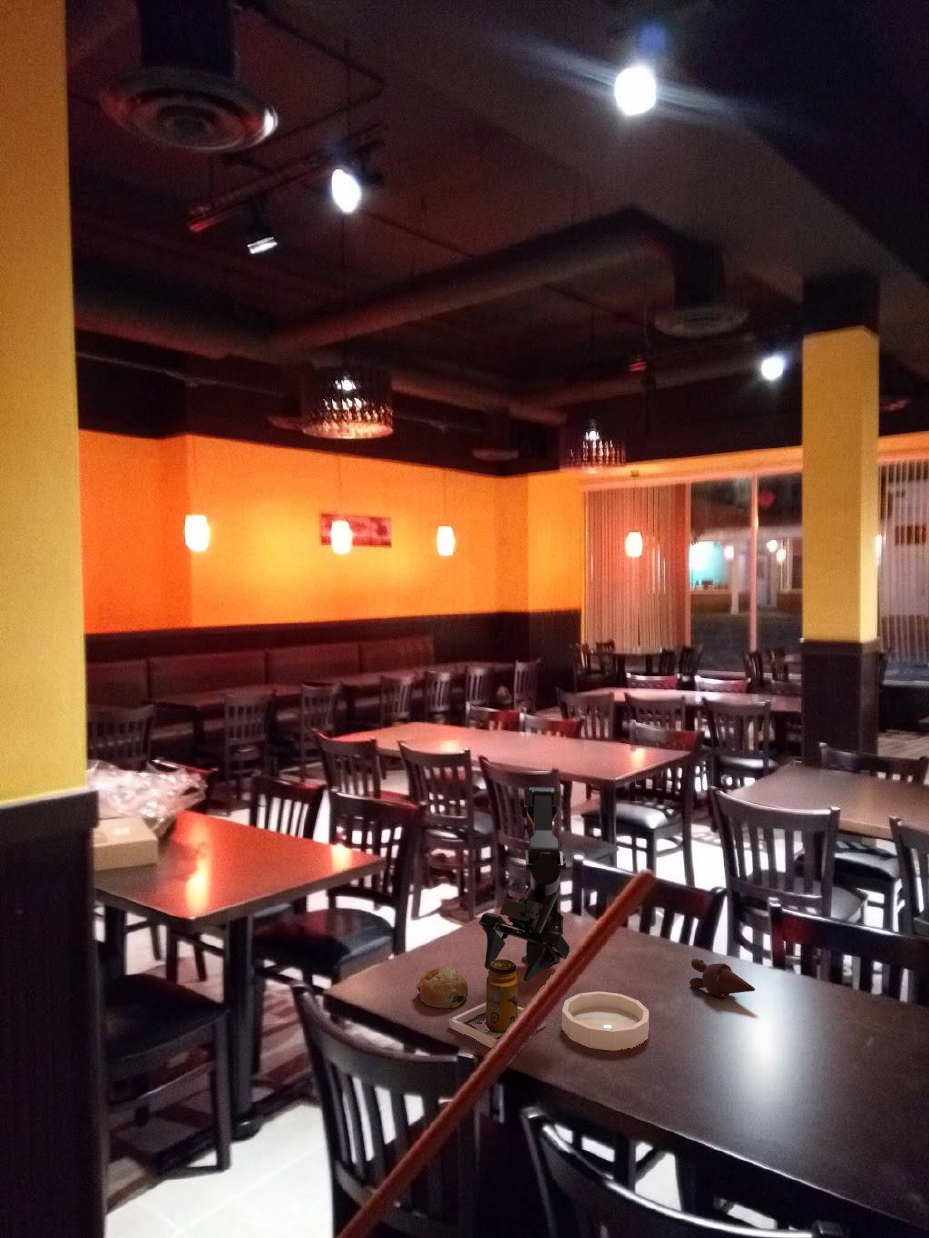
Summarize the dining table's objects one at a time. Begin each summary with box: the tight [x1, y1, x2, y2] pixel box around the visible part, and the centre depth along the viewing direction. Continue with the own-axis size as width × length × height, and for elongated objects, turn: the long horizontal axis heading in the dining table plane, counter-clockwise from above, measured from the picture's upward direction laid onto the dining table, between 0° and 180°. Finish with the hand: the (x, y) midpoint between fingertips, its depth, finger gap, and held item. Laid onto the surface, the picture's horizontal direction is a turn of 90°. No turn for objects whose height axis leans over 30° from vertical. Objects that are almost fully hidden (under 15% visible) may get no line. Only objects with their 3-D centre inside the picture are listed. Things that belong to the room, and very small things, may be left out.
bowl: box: [561, 991, 650, 1052], centre depth 170 cm, size 16×16×4 cm
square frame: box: [448, 1002, 547, 1049], centre depth 170 cm, size 14×13×2 cm
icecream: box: [689, 958, 756, 1000], centre depth 184 cm, size 7×7×15 cm
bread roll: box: [415, 966, 469, 1009], centre depth 182 cm, size 10×10×8 cm
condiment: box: [468, 958, 519, 1039], centre depth 170 cm, size 7×8×12 cm
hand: (505, 974), depth 172 cm, fingers open, 9 cm apart
